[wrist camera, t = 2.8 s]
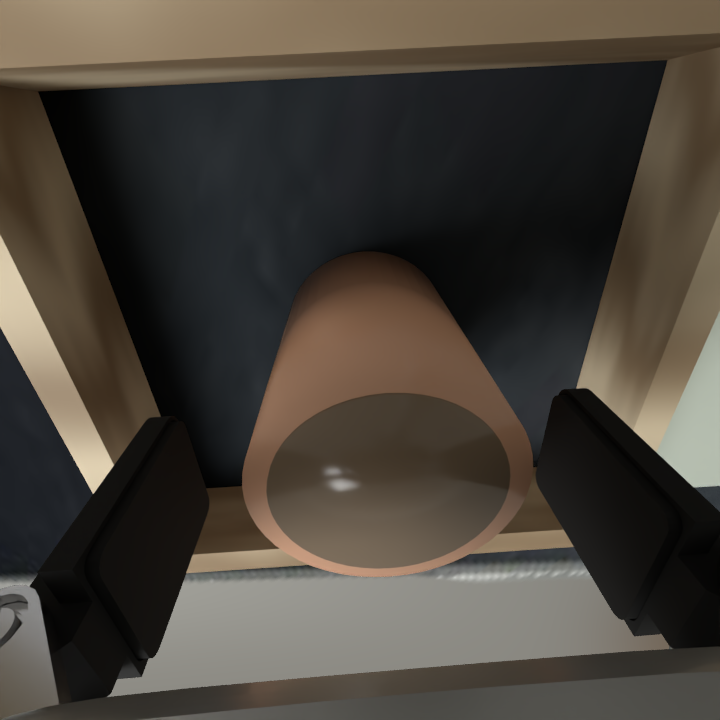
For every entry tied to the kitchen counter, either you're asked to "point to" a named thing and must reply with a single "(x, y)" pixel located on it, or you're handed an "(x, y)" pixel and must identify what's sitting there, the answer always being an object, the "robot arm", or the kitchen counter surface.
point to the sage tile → (698, 420)
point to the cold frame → (331, 59)
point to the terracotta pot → (381, 429)
